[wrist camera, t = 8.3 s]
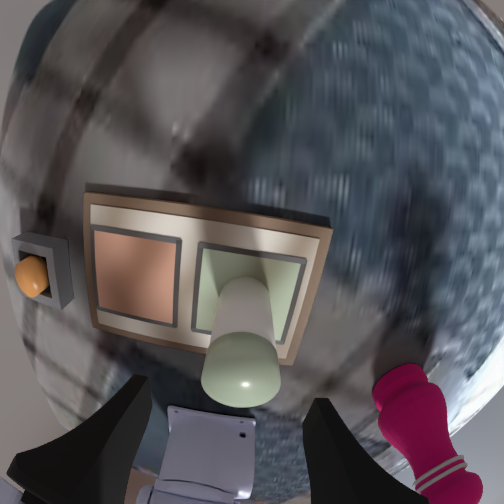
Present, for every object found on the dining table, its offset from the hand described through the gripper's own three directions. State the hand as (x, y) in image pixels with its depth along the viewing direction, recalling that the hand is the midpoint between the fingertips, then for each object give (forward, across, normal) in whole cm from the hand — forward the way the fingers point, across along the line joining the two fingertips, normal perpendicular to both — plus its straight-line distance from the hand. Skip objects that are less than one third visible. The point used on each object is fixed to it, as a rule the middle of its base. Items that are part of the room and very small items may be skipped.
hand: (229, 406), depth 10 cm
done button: (+9, +18, +1) cm, 20 cm away
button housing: (+10, +18, +1) cm, 21 cm away
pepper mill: (+11, -18, +9) cm, 23 cm away
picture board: (+10, +4, 0) cm, 11 cm away
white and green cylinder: (+10, 0, 0) cm, 10 cm away
